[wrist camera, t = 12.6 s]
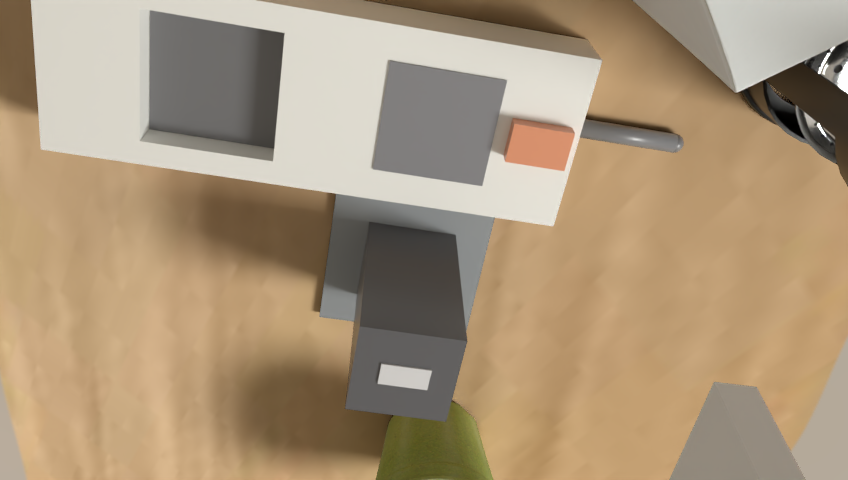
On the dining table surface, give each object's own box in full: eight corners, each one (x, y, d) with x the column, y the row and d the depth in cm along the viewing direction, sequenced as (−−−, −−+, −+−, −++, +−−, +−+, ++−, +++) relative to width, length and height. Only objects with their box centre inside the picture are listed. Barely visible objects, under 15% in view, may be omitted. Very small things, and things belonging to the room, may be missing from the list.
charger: (369, 221, 44) (359, 327, 36) (455, 235, 45) (467, 342, 36) (356, 294, 47) (344, 410, 38) (439, 306, 47) (446, 423, 39)
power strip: (59, -54, 37) (20, -36, 34) (708, 61, 41) (739, 88, 37) (67, 123, 42) (34, 155, 38) (653, 213, 45) (675, 251, 41)
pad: (338, 181, 44) (337, 184, 43) (496, 205, 44) (496, 208, 44) (320, 313, 48) (319, 316, 48) (464, 332, 49) (464, 336, 49)
